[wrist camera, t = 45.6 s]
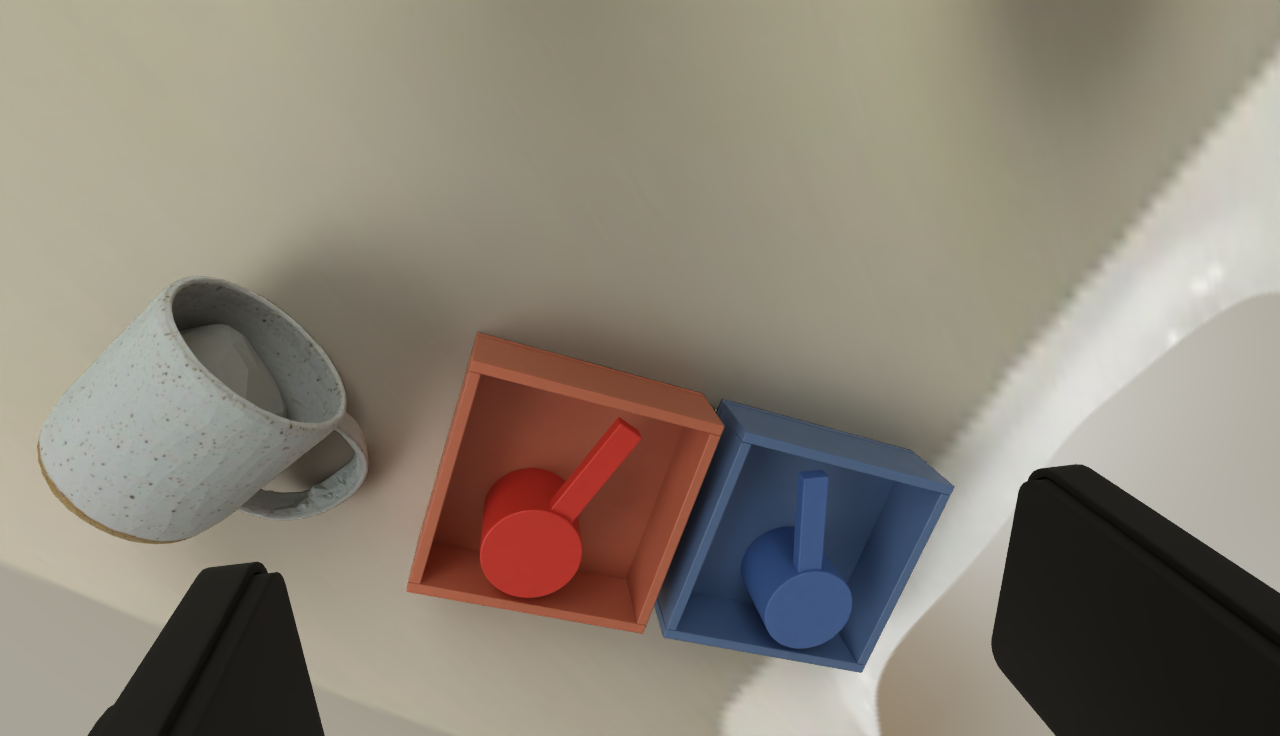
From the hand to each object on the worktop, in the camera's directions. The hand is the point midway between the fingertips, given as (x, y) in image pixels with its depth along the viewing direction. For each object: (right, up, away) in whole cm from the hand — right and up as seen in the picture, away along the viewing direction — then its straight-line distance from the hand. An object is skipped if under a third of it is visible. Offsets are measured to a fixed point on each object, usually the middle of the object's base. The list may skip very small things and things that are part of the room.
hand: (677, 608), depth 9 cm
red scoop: (-4, -2, +25) cm, 26 cm away
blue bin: (+7, -5, +29) cm, 30 cm away
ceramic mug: (-17, +2, +23) cm, 28 cm away
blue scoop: (+7, -5, +28) cm, 29 cm away
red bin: (-4, -2, +26) cm, 26 cm away
